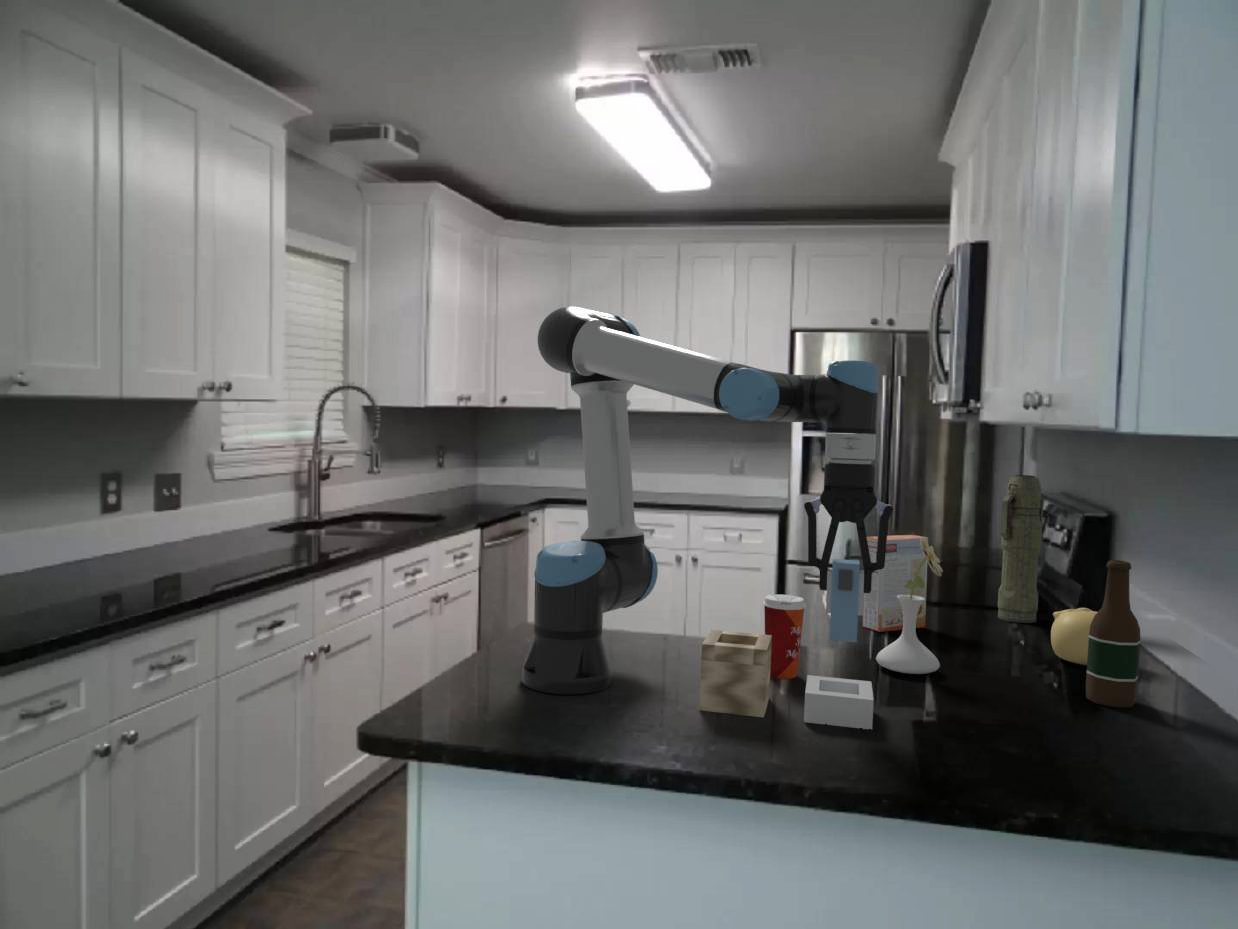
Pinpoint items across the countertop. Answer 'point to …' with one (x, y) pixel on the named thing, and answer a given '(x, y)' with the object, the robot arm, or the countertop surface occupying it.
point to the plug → (844, 600)
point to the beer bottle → (1114, 644)
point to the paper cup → (784, 633)
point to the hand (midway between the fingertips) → (844, 612)
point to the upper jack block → (735, 673)
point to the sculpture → (1072, 634)
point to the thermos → (1020, 549)
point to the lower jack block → (839, 702)
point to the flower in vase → (912, 628)
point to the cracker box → (894, 583)
